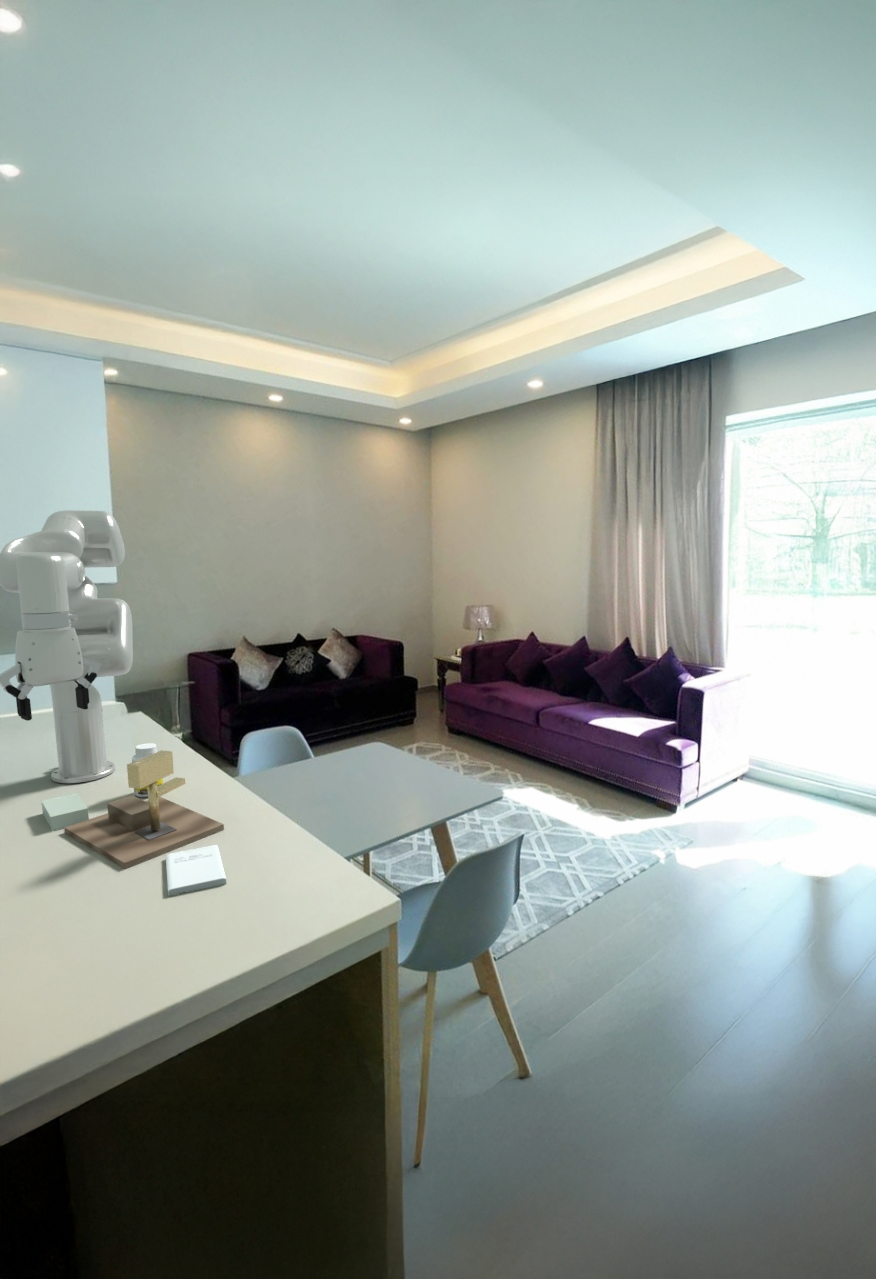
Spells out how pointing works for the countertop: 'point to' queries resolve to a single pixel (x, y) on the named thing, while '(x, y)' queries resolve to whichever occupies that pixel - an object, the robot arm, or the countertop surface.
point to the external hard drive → (194, 869)
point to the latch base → (141, 830)
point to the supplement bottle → (141, 752)
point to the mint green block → (64, 811)
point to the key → (153, 780)
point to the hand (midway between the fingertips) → (55, 713)
